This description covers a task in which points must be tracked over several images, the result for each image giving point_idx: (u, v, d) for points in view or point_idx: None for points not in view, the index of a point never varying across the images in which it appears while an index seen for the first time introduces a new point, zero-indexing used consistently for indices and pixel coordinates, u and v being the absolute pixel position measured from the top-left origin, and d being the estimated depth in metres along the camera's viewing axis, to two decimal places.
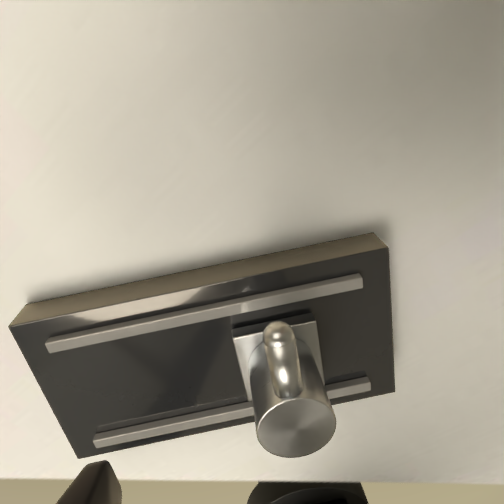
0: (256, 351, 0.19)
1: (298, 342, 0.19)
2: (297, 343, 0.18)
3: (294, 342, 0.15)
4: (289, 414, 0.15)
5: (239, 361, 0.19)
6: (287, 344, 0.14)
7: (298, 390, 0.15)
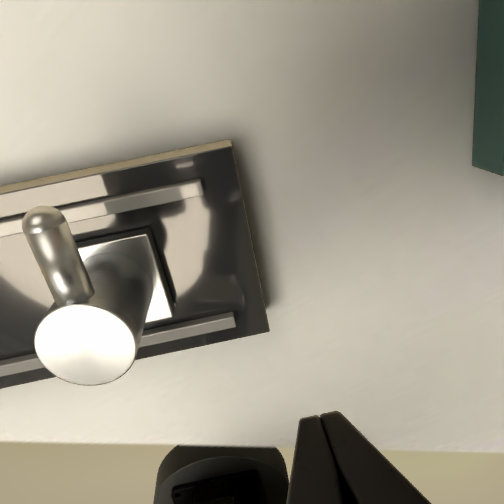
0: None
1: (125, 259, 0.16)
2: (123, 259, 0.16)
3: (62, 231, 0.12)
4: (70, 326, 0.13)
5: None
6: (46, 230, 0.11)
7: (79, 295, 0.12)
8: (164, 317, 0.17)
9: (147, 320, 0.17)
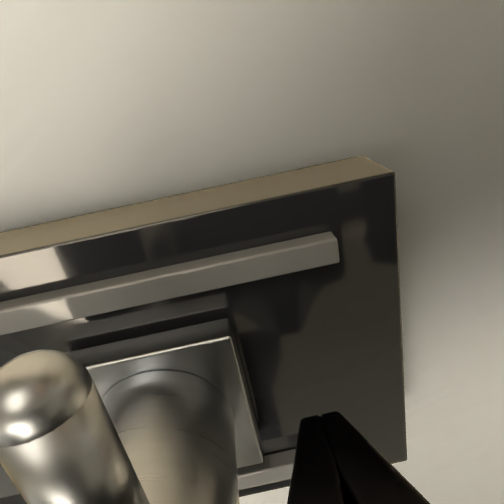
0: None
1: (192, 383, 0.08)
2: (188, 386, 0.08)
3: (84, 419, 0.05)
4: None
5: None
6: (43, 433, 0.04)
7: None
8: (248, 463, 0.10)
9: None
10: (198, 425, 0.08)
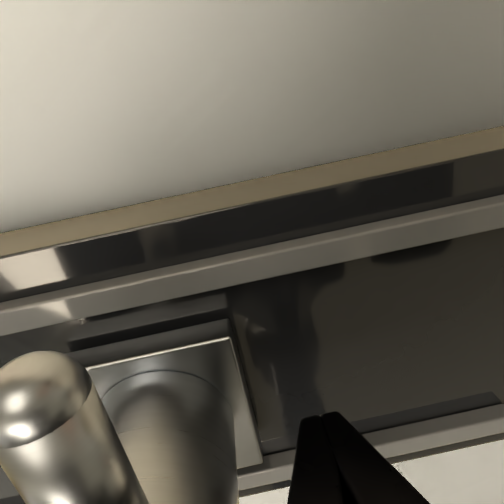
0: None
1: (192, 384, 0.08)
2: (188, 387, 0.08)
3: (83, 421, 0.05)
4: None
5: None
6: (43, 434, 0.04)
7: None
8: (248, 464, 0.10)
9: None
10: (198, 426, 0.08)
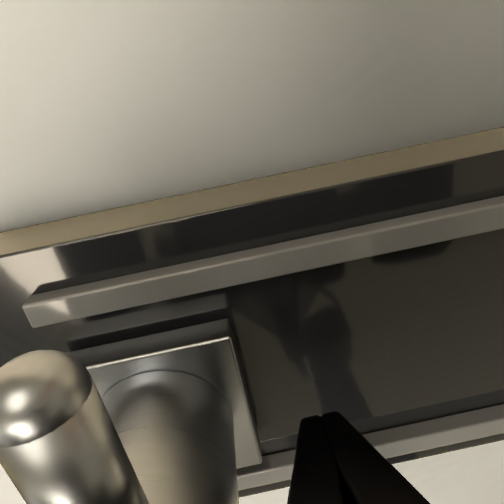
0: None
1: (191, 384, 0.08)
2: (187, 387, 0.08)
3: (84, 421, 0.05)
4: None
5: None
6: (43, 433, 0.04)
7: None
8: (247, 464, 0.10)
9: None
10: (198, 426, 0.08)
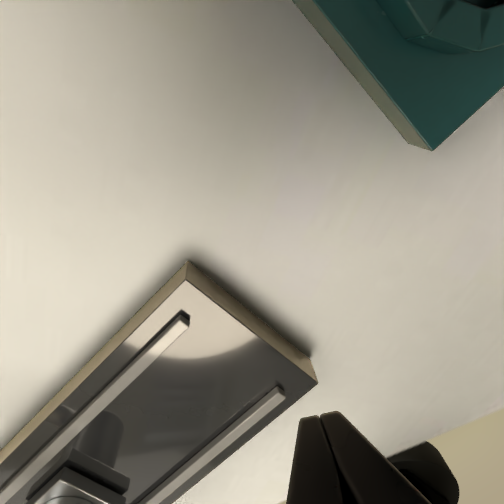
0: None
1: (58, 502, 0.20)
2: None
3: None
4: None
5: None
6: None
7: None
8: None
9: None
10: None
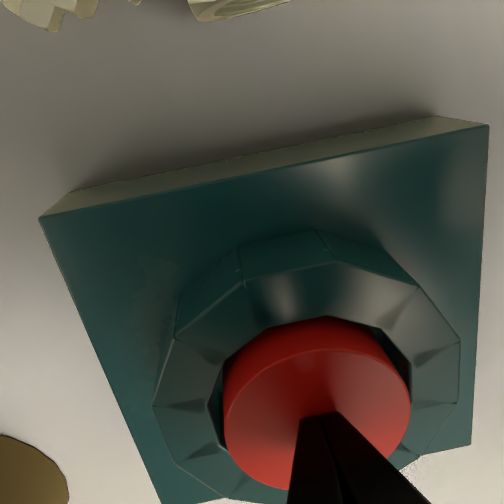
0: None
1: None
2: None
3: None
4: None
5: None
6: None
7: None
8: None
9: None
10: None
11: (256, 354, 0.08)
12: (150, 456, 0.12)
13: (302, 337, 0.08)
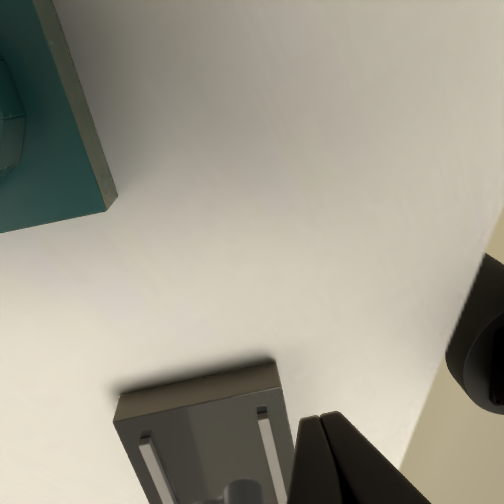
0: None
1: None
2: None
3: None
4: None
5: None
6: None
7: None
8: None
9: None
10: None
11: None
12: None
13: None
